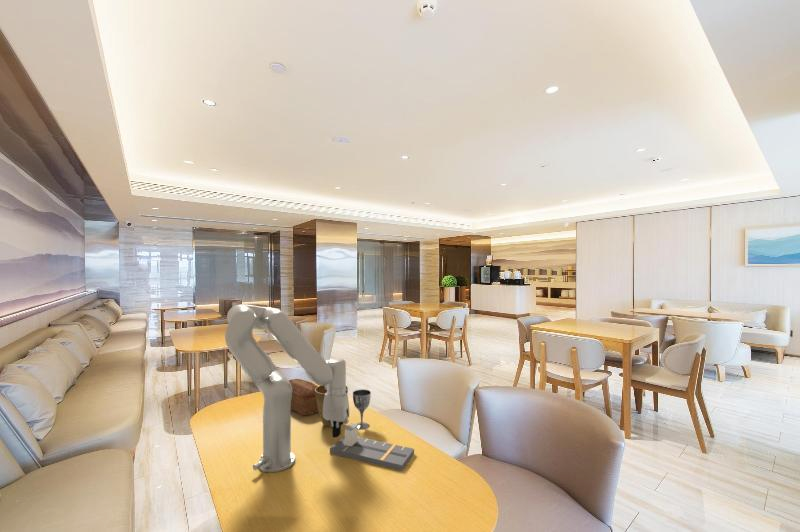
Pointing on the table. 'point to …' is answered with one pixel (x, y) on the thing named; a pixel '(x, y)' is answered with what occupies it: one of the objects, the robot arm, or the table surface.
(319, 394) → the plant pot
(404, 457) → the console
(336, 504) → the table surface
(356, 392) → the wine glass
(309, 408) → the bread
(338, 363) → the robot arm
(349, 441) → the fader tab
